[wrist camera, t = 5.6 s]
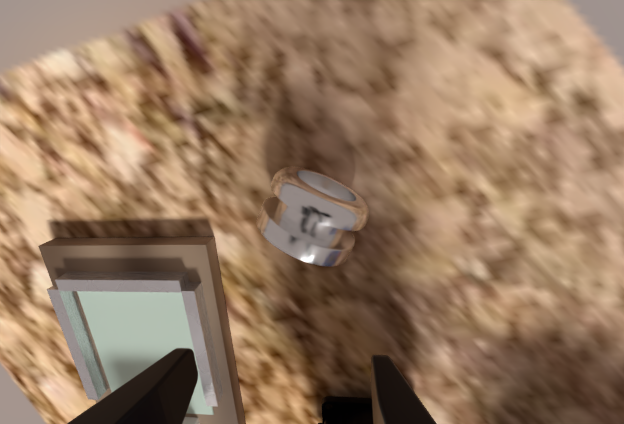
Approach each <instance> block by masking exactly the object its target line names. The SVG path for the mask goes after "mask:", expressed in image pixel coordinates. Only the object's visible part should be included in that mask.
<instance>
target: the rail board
mask: <svg viewBox="0 0 624 424" xmlns="http://www.w3.org/2000/svg"><path fill="white" fill-rule="evenodd" d="M39 249H40V251H41V254H42V257H43V259H44V262H45V265H46V267H47V270H48V273H49V276H50V278H51V281H52V284H53V286H54V285H55V284H56V281H55V279H57V278H59V277H60V276H62V275H64V274H65V273H67V272H69V271H77V272H187V273H188V278H189V282H202V286H203V291H204V297H205V302H206V307H207V312H208V317H209V323H210V328H211V333H212V338H213V343H214V349H215V354H216V359H217V364H218V369H219V375H220V380H221V385H222V390H223V395H222V397H221V400H220V402H219V404H218V407H217V406H206V402H205V398H204V393H203V389H202V384H201V379H200V375H199V370H198V366H197V370H198V380H197V384H196V387H195V390H194V393H193V396H192V398H191V401H190V404H189V407H188V410H187V413H186V416H185V417H196V418H198V419H199V423H200V424H246V422H245V416H244V411H243V405H242V399H241V393H240V387H239V381H238V375H237V369H236V363H235V357H234V351H233V345H232V339H231V333H230V328H229V322H228V316H227V310H226V304H225V298H224V292H223V286H222V280H221V274H220V268H219V262H218V256H217V250H216V245H215V239H214V237H132V238H55V239H53V240H51V241H48V242H46V243H44V244H42V245H40V246H39ZM76 294H77V296H78V299H79V302H80V305H81V308H82V311H83V314H84V317H85V320H86V323H87V325H88V328H89V331H90V334H91V337H92V340H93V343H94V346H95V349H96V352H97V354H98V357H99V360H100V363H101V366H102V369H103V372H104V375H105V378H106V381H107V383H108V386H109V388H108V389H107V391H106V392H105V393H104V394H103V395H102V396H101V398H100V399H99V400H96V403H98V402H99V401H100V400H102V399H103V398H105V397H106V396H108V395H109V394H111V393H112V392H113V391H115V390H116V389H118V388H119V387H121V386H122V385H124V384H125V383H126V382H128V381H129V380H131V379H132V378H134V377H135V376H136V375H138V374H139V373H141V372H142V371H144V370H145V369H147V368H148V367H149V366H151V365H152V364H154V363H155V362H157V361H158V360H160V359H161V358H162V357H164V356H165V355H167V354H168V353H170V352H171V351H172V350H174V349H176V348H190V349H192V350H193V352H194V347H193V343H192V338H191V334H190V329H189V325H188V320H187V315H186V311H185V306H184V302H183V297H182V293H175V292H92V291H76ZM194 356H195V352H194ZM195 361H196V357H195ZM196 365H197V361H196Z"/></svg>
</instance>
